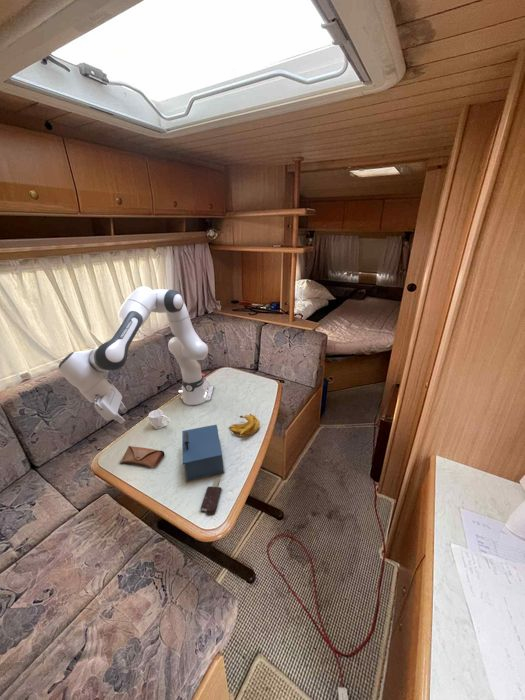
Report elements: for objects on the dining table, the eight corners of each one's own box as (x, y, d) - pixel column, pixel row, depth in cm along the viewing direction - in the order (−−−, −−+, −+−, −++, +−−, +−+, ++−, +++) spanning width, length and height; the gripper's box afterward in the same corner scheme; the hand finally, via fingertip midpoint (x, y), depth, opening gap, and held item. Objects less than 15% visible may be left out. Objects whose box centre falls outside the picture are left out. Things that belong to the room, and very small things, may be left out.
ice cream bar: (211, 478, 111) (200, 513, 98) (211, 475, 111) (199, 510, 97) (224, 479, 111) (214, 514, 97) (223, 476, 110) (214, 511, 97)
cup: (155, 421, 147) (152, 409, 143) (172, 422, 145) (170, 410, 142) (148, 430, 140) (145, 417, 137) (167, 431, 139) (164, 418, 136)
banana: (262, 417, 147) (261, 408, 145) (256, 442, 130) (255, 432, 128) (234, 415, 150) (233, 406, 147) (225, 439, 132) (224, 430, 130)
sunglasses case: (117, 463, 120) (120, 447, 120) (128, 459, 127) (130, 444, 127) (155, 468, 116) (157, 452, 117) (163, 464, 123) (165, 449, 124)
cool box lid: (182, 464, 107) (180, 454, 105) (182, 432, 125) (180, 423, 123) (222, 456, 111) (221, 446, 109) (216, 425, 128) (215, 416, 126)
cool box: (187, 480, 111) (184, 464, 107) (187, 447, 128) (184, 432, 125) (224, 472, 114) (222, 456, 111) (218, 440, 132) (216, 425, 128)
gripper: (101, 395, 92) (129, 423, 97) (110, 378, 110) (133, 402, 115) (84, 407, 91) (113, 434, 96) (96, 387, 109) (120, 411, 114)
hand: (124, 416), depth 106 cm, fingers open, 8 cm apart
